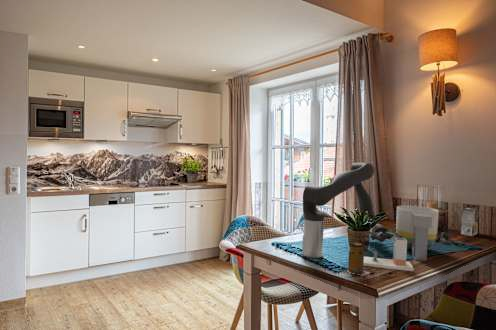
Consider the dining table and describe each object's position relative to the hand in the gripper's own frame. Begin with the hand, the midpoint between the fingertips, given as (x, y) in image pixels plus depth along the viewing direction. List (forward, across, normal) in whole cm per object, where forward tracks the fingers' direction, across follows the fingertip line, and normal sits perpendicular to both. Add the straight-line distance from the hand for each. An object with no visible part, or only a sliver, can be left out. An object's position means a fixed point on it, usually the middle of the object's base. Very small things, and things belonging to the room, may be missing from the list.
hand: (390, 240), depth 163 cm
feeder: (-3, +15, +9) cm, 17 cm away
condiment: (+20, -21, +9) cm, 31 cm away
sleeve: (+10, 0, +8) cm, 13 cm away
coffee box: (-57, +71, +9) cm, 92 cm away
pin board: (+9, -5, +9) cm, 13 cm away
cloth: (-34, +44, +10) cm, 56 cm away
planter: (-18, +20, +9) cm, 28 cm away
